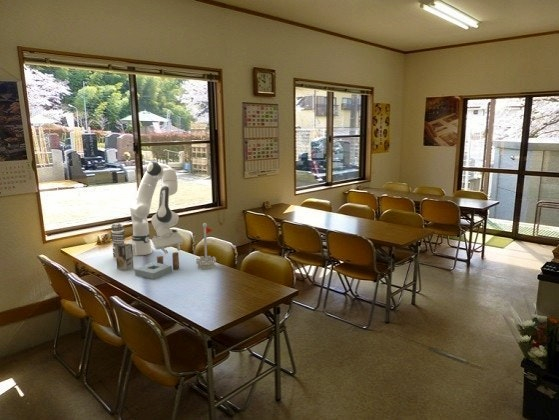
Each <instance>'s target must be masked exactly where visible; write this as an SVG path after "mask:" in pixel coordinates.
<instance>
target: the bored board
mask: <svg viewBox="0 0 559 420" xmlns="http://www.w3.org/2000/svg"><path fill="white" fill-rule="evenodd" d="M172 272H173V265H170V264H165V263H163V264H161V263H157V262H155V261H153V262H150V263H147V264H144V265H142V266H139V267H137V268H135V269H134V273H135V274H134V275H135V276H137V277H141V278H146V279H151V280H156V279H158V278H160V277H162V276H165V275H168V274H170V273H172Z"/></svg>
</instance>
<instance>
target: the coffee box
mask: <svg viewBox="0 0 559 420" xmlns="http://www.w3.org/2000/svg"><path fill="white" fill-rule="evenodd" d="M115 250H116V259H115V260H116V269H119V270H120V269H121V270H124V271H125V270H127V271H128V270H130V269H133V268H134V256H133V253H132V244H127V243H125V242H124V243H120V244H118V245H115Z"/></svg>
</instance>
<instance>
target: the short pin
mask: <svg viewBox="0 0 559 420" xmlns="http://www.w3.org/2000/svg"><path fill="white" fill-rule="evenodd" d="M156 261H157V262H156V263H161V264H164V256H163V255H158V256H156Z"/></svg>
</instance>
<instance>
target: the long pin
mask: <svg viewBox="0 0 559 420" xmlns="http://www.w3.org/2000/svg"><path fill="white" fill-rule="evenodd" d="M171 254H172V255H171V256H172V257H171V258H172V271H179V270H180V261H179V260H180V257H179V251H178V252H177V251H175V252H174V251H173V252H172V253H171ZM178 269H179V270H178Z"/></svg>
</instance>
